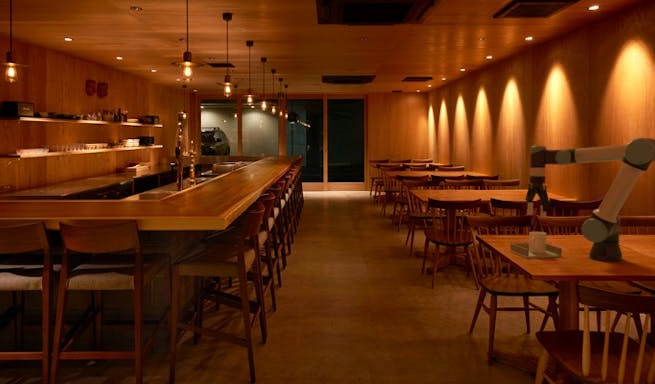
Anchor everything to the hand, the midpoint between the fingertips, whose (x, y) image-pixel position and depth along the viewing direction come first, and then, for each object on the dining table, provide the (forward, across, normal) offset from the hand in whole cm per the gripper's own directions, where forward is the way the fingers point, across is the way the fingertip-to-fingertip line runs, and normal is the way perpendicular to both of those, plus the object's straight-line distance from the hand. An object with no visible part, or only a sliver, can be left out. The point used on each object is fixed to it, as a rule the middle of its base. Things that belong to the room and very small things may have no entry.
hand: (536, 216), depth 302 cm
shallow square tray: (+20, 0, 0) cm, 20 cm away
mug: (+19, -1, 0) cm, 19 cm away
